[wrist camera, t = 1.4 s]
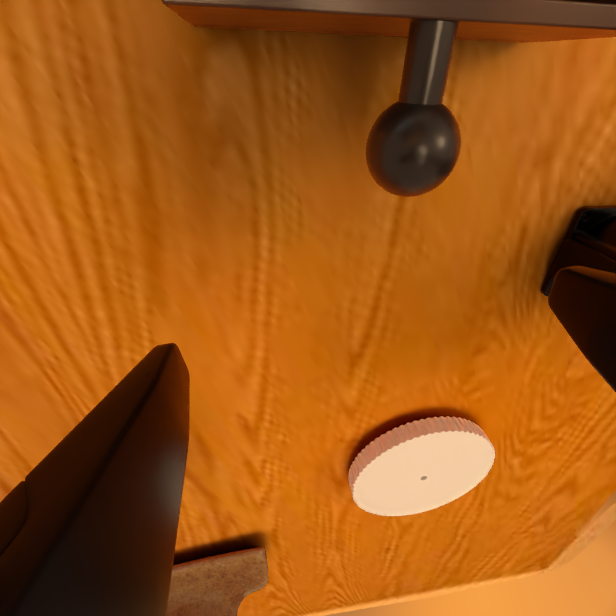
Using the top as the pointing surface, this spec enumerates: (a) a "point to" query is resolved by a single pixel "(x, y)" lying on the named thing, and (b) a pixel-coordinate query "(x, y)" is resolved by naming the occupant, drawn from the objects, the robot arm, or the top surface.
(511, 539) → the top surface
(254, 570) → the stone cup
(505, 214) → the top surface
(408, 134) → the bin
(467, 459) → the plastic lid
